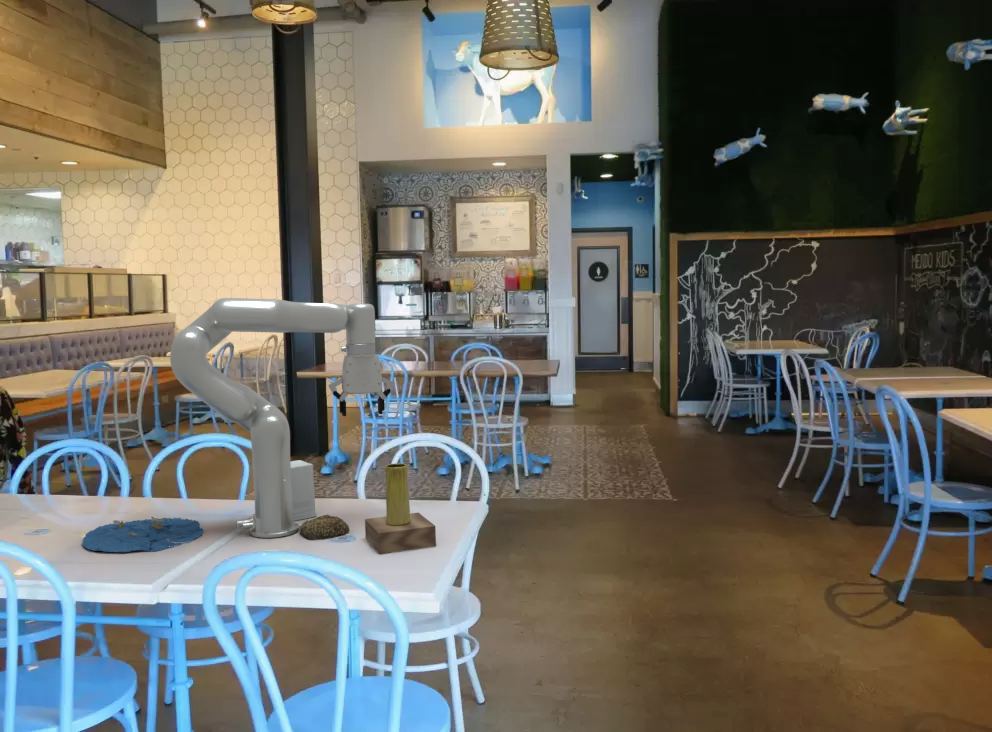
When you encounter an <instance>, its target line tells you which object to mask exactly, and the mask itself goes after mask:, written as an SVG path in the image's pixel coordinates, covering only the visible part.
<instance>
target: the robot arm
mask: <svg viewBox="0 0 992 732" xmlns="http://www.w3.org/2000/svg"><path fill="white" fill-rule="evenodd" d="M375 312H376V311H375V307H374V305H373V304H371V303H350V304H340V303H335V302H328V303H326V302H324V303H323V302H321V303H320V302H300V301H299V302H297V301H290V300H284V299H275V298H273V299H272V298H271V299H269V298H267V299H266V298H244V297H243V298H238V297H223V298H219V299H217V300H216V301H214V303H213V304H211V306H210V307H209V308H208V309H206V311H204V312H203V313H202V314H201V315H200V316H198V317H197V318H196V319H195V320H194V321H192V322H191V323H190V324H188V326H186V327H185V328H183V329H181V330H180V331H179V332H177V334H175V336H174V338H173V340H172V342H171V347H170V354H169V358H170V359H169V360H170V362H169V363H170V366H171V370H172V372H173V375H174V377H175V378H176V379H177V381H178V382H179V383H180V384H181V385H182V387H184V388H185V389H187V390H188V391H189V392H190V393H192V394H193V395H194V396H196V398H197V399H200V401H202V402H203V403H204V404H206V405H207V406H208V407H210V408H211V409H212V410H214V412H216V413H217V414H219V415H220V416H221V417H222V418H223V419H225V420H226V421H228V422H230V423H236V425H237V424H238V426H240V427H242V428H243V429H244V430H246V431H247V432H248V433H250V440H251V441H250V442H251V456H252V457H251V459H252V461H251V462H252V475H253V476H252V478H253V497H254V498H253V499H254V511H255V512H254V514H252V517H249V518H247V519H244V518H243V519H237V520H236V526H237V528H243V529H248V528H250V529H249V534H250V536H252V537H255V538H262V539H263V538H265V539H270V538H271V539H272V538H281V537H287V536H291V535H293V534H295V533H298V532H300V526H301V525H300V524H299V522H296V521H293V505H292V483H291V463H290V461H291V430H290V425H289V421H288V419H287V417H286V415H285V413H283V412H282V411H281V409H279V408H277V406H275V405H274V404H272V403H271V402H270V401H269V400H267V399H266V398H265V397H263V396H262V395H260V394H259V393H258V392H256V391H255V390H253V389H252V388H251V387H249V386H248V385H246V384H244V383H241V382H235V381H234V380H232V379H231V378H229V377H228V376H226V375H225V374H224V373H223V372H222V371H221V370H219V369H218V368H217V367H215V366H214V365H212V364H211V363H210V361H209V360H208V358H207V354H208V353H209V352H211V351H212V350H213V349H214V348H216V346H218V345H219V344H220V343H221V342H222V341H224V339H226V338H227V337H228V336H229V335H231V333H233V332H237V333H242V332H243V333H277V334H278V333H279V334H282V333H283V334H284V333H316V334H317V333H322V334H325V333H327V334H334V333H339V332H341V331H342V330H345V335H346V336H345V338H346V339H345V340H346V341H345V342H346V343H345V345H344V346H340V351H341V352H343V353H345V354H346V355H344V356H343V362H342V371H341V372H342V373H341V374H342V375H341V377H340V378H338V379H336V380H334V381H333V382H330V383H329V384H328V388H329V390H330V392H331V393H332V395H333V396H334V397H335V398H336V399H337V400H338V401H339V402H338V403H339V413H340V414H341V415H342V416H343V417H347V401H346V399H347V397H348V396H349V395H361V394H362V395H363V394H366V395H367V394H376V395H377V396H378V398H377V413H378V414H379V415H384V414H383V412H384V411H385V400H386V399H387V397H388V396H389V395H390V394H391V393H392V389H393V388H394V386H395V382H394V381H392V380H389V379H387V378H386V377H383V376H382V369H381V362H380V361H381V359H380V357H379V355H377V354H376V323H375V322H376V321H375V320H376V315H375V314H376V313H375ZM383 383H384V384H386V385H387V387H386V388H385V389H384V390H383V391H382V389H383ZM339 385H341V389H342V391H341V393H339V392H338V391H337V389H336V387H337V386H339Z"/></svg>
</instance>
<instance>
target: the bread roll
mask: <svg viewBox="0 0 992 732" xmlns="http://www.w3.org/2000/svg"><path fill="white" fill-rule="evenodd" d="M299 526H300V529H299V533H300V534H301V536H302V537H304V538H306V539H308V540H311V541H315V540H316V541H317V540H325V539H333V538H337V537H341V536H344V535H345V536H346V535H347V534H349V533H350V532H351V530H350V526H349V524H348V523H347V522H346V521H344V520H343V519H342V518H340V517H339V516H334V515H332V516H330V514H324V515H320V516H317V517H314V518H312V519H310V520H305V521H304V522H303V523H301V525H299Z"/></svg>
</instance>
